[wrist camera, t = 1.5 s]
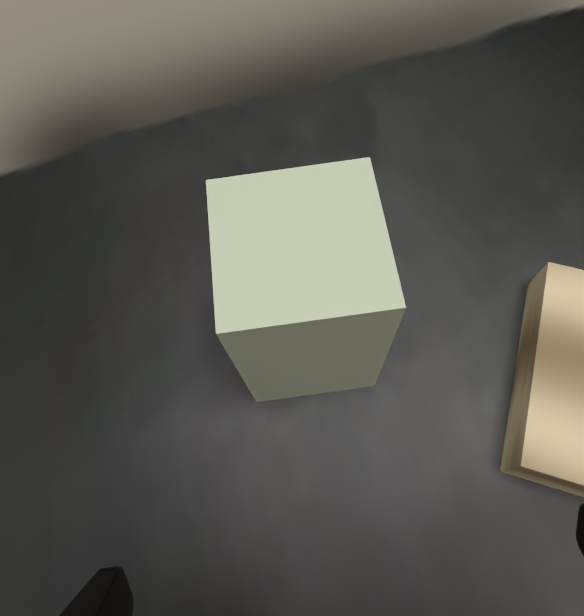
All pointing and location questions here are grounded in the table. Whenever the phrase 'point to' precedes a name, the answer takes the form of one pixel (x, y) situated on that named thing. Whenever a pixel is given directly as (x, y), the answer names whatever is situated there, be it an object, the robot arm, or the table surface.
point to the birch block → (549, 384)
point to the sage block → (303, 278)
